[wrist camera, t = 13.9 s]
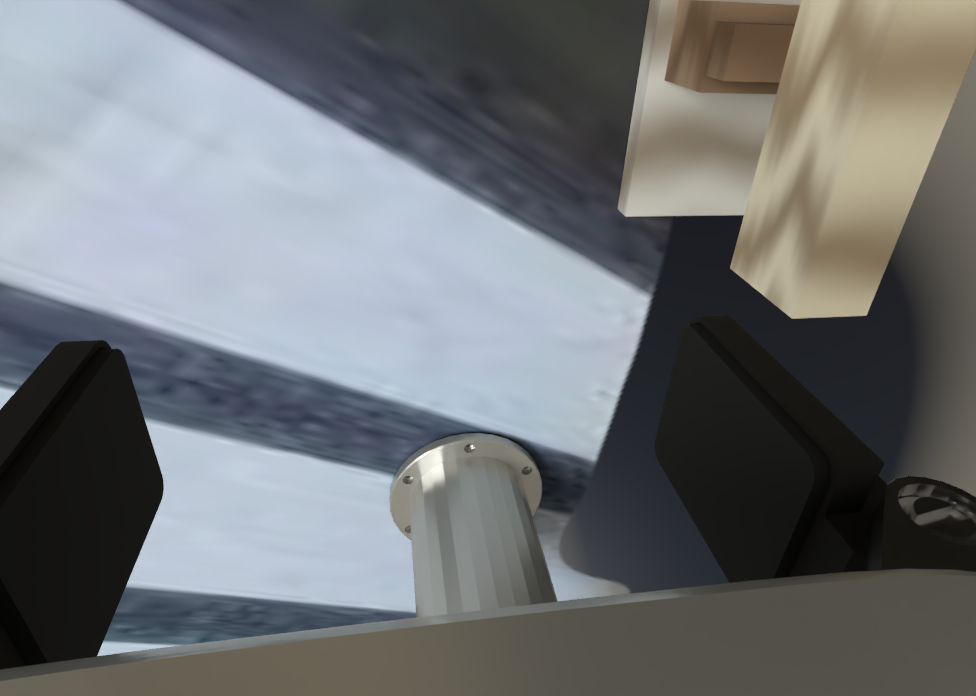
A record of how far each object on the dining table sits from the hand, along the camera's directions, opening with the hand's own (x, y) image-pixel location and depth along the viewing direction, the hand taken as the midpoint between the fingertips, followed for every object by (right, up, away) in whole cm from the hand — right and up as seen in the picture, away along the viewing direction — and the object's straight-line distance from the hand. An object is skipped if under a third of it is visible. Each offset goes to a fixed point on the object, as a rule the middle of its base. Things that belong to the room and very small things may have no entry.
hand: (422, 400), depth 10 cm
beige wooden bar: (+17, +15, +18) cm, 29 cm away
